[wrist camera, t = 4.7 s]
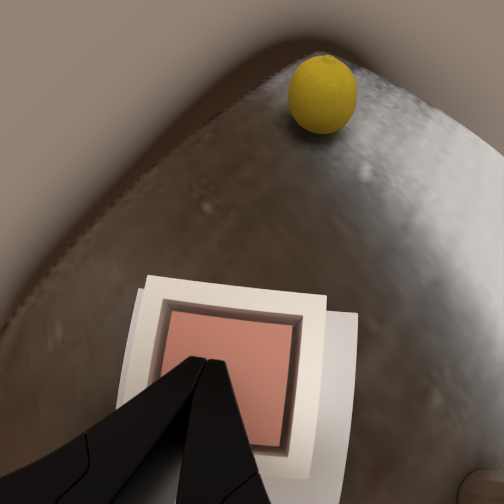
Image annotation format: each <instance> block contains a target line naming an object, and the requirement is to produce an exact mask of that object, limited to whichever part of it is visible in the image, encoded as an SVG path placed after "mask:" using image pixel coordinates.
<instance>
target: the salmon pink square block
mask: <svg viewBox="0 0 504 504" xmlns="http://www.w3.org/2000/svg"><path fill="white" fill-rule="evenodd" d="M291 336H292V326H291V325H281V324H271V323H262V322H253V321H244V320H236V319H228V318H220V317H212V316H205V315H198V314H191V313H184V312H177V311H172V315H171V320H170V325H169V330H168V336H167V342H166V347H165V353H164V359H163V365H162V371H161V377H162V376H163V375H165V374H166V373H167V372H169V371H170V370H171V369H173V368H174V367H175V366H177V365H178V364H179V363H181V362H182V361H183V360H185V359H186V358H187V357H189V356H198V357H204V358H206V359H207V360H208V359H218V360H224V361H225V362H226V365H227V368H228V372H229V375H230V379H231V382H232V386H233V389H234V392H235V396H236V399H237V403H238V406H239V409H240V413H241V416H242V419H243V423H244V426H245V429H246V432H247V435H248V439H249V442H250V444H256V445H267V446H279V444H280V436H281V428H282V420H283V412H284V403H285V395H286V386H287V377H288V367H289V357H290V347H291ZM161 377H160V378H161Z"/></svg>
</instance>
